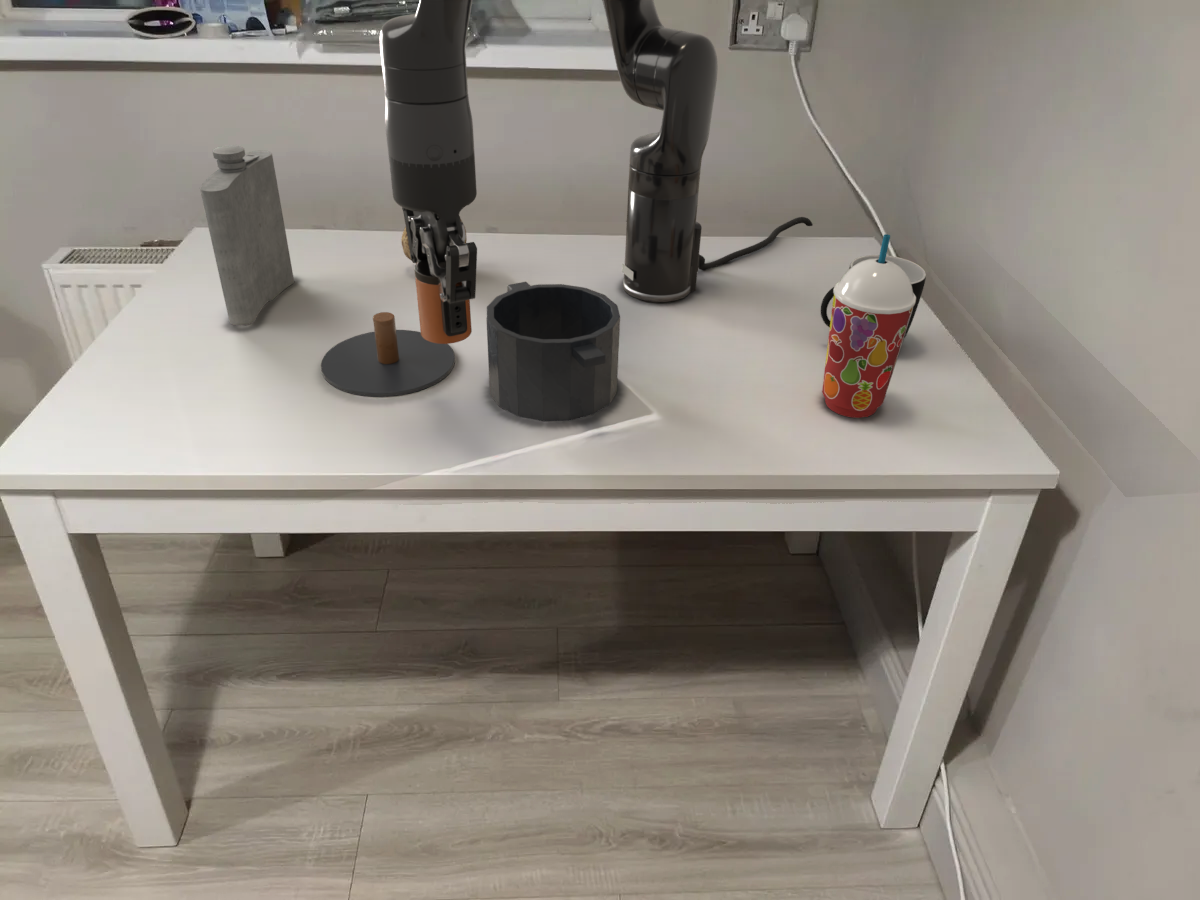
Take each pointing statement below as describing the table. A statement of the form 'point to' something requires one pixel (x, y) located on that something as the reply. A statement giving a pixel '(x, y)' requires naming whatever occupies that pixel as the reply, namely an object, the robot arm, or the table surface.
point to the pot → (552, 351)
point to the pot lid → (386, 361)
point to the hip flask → (247, 231)
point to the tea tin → (434, 307)
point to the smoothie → (866, 334)
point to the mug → (910, 268)
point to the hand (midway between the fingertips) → (445, 320)
